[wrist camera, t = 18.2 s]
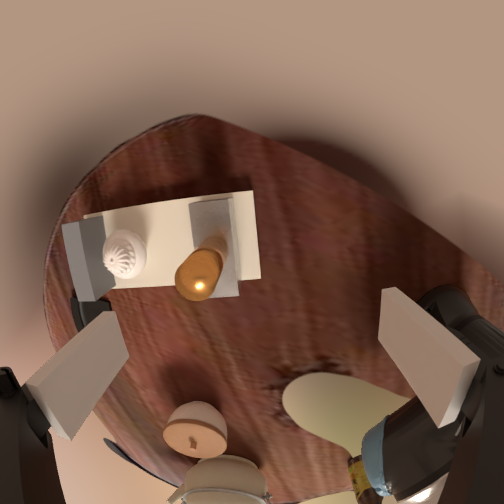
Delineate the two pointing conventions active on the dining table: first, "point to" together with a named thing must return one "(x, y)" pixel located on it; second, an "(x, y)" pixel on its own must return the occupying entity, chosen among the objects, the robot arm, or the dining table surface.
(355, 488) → the sauce bottle
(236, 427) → the dining table surface
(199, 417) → the lidded jar
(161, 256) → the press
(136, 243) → the white steamed bun
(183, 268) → the ram
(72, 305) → the curved wedge
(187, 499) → the kettle
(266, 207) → the dining table surface
